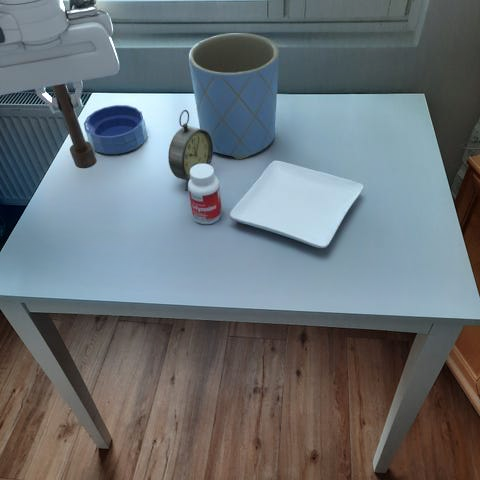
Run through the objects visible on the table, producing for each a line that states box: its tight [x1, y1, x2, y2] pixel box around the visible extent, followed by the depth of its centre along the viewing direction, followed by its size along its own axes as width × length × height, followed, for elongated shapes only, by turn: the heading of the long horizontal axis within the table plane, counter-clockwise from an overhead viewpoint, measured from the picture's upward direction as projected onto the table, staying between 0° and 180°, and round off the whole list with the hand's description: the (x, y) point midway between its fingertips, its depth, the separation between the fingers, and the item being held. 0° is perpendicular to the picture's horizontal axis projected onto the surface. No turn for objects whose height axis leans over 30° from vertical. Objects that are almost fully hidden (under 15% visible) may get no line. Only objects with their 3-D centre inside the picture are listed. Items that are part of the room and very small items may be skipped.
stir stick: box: [51, 83, 98, 170], centre depth 78 cm, size 4×4×18 cm
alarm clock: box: [167, 109, 214, 192], centre depth 99 cm, size 11×5×16 cm, turn 148°
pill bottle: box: [188, 164, 223, 225], centre depth 94 cm, size 6×6×11 cm
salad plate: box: [229, 160, 364, 249], centre depth 96 cm, size 21×21×3 cm
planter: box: [188, 32, 280, 160], centre depth 107 cm, size 19×19×20 cm
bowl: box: [83, 104, 148, 155], centre depth 115 cm, size 14×14×5 cm
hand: (67, 109), depth 78 cm, fingers closed on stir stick, 2 cm apart
